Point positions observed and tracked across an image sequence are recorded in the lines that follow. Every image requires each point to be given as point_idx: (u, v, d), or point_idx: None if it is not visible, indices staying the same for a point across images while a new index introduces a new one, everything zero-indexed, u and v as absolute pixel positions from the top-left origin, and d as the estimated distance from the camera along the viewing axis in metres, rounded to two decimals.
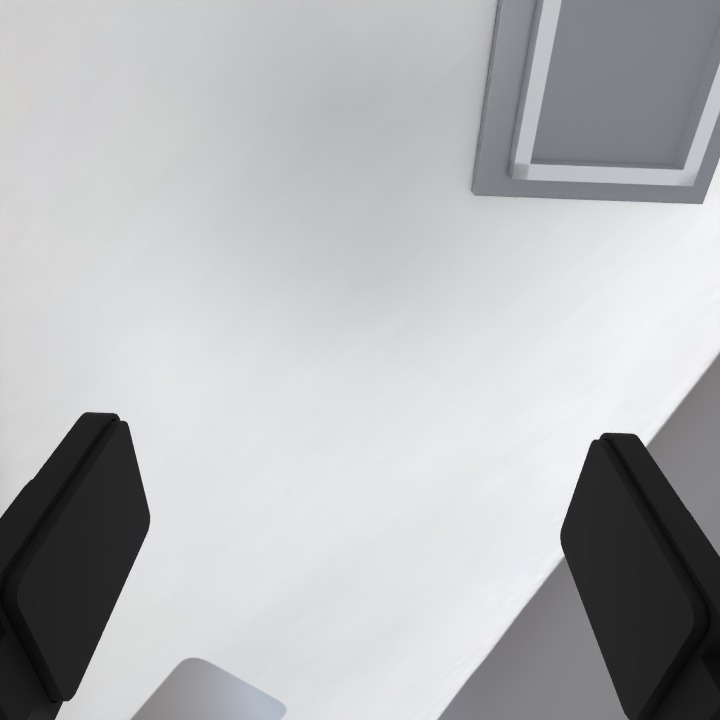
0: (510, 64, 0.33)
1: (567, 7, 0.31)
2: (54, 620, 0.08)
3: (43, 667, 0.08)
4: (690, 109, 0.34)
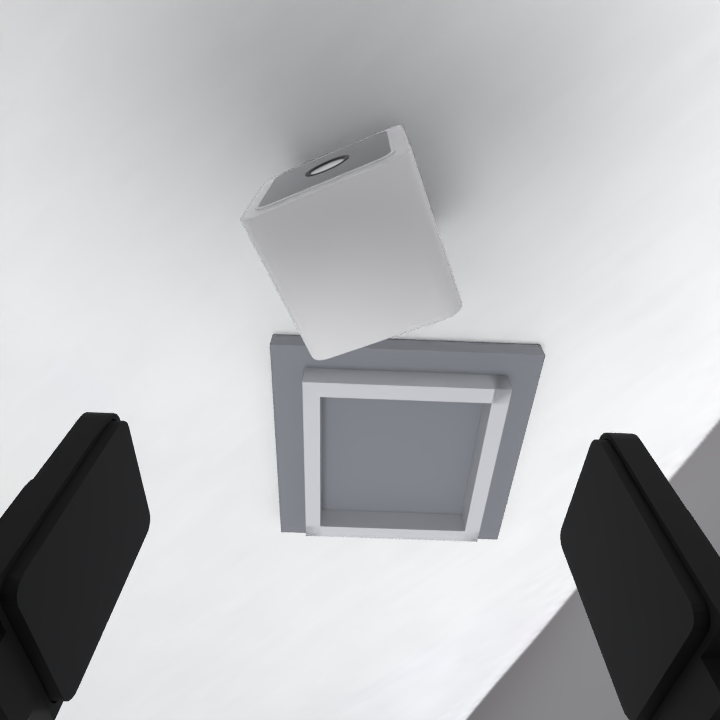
0: (292, 449, 0.35)
1: (335, 415, 0.33)
2: (54, 620, 0.08)
3: (43, 667, 0.08)
4: (468, 480, 0.36)
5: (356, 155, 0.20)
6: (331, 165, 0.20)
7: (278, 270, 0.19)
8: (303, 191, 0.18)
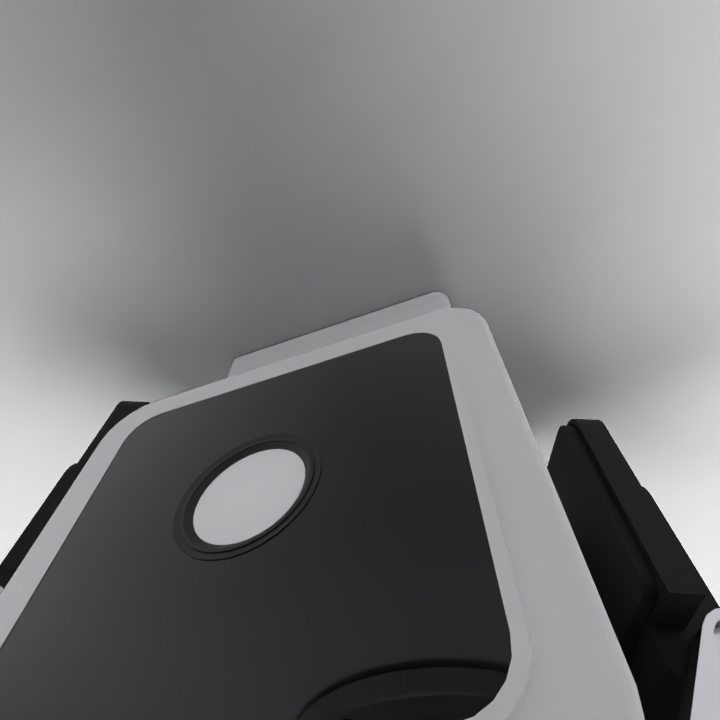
0: None
1: None
2: None
3: None
4: None
5: (346, 488, 0.05)
6: (259, 502, 0.06)
7: None
8: None
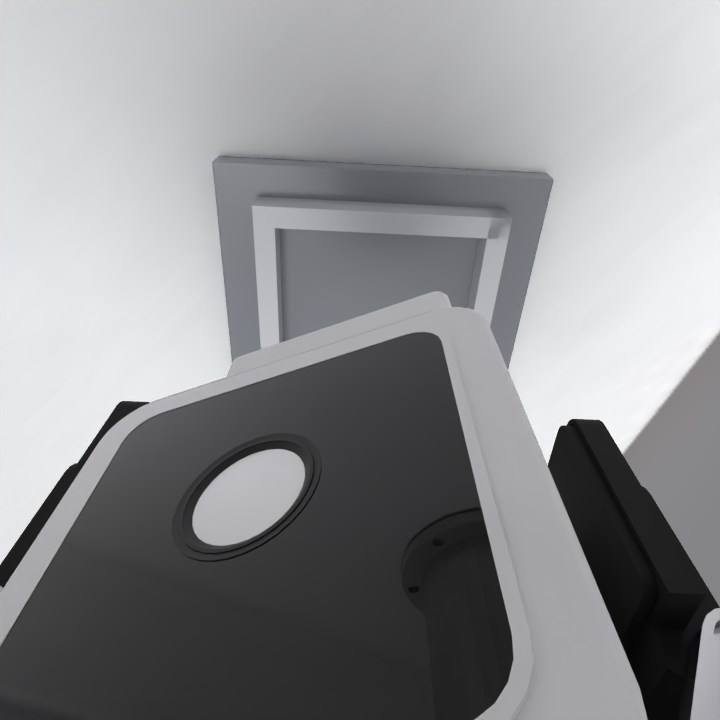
0: (246, 314, 0.29)
1: (297, 265, 0.27)
2: None
3: None
4: None
5: (346, 488, 0.05)
6: (259, 502, 0.06)
7: None
8: None
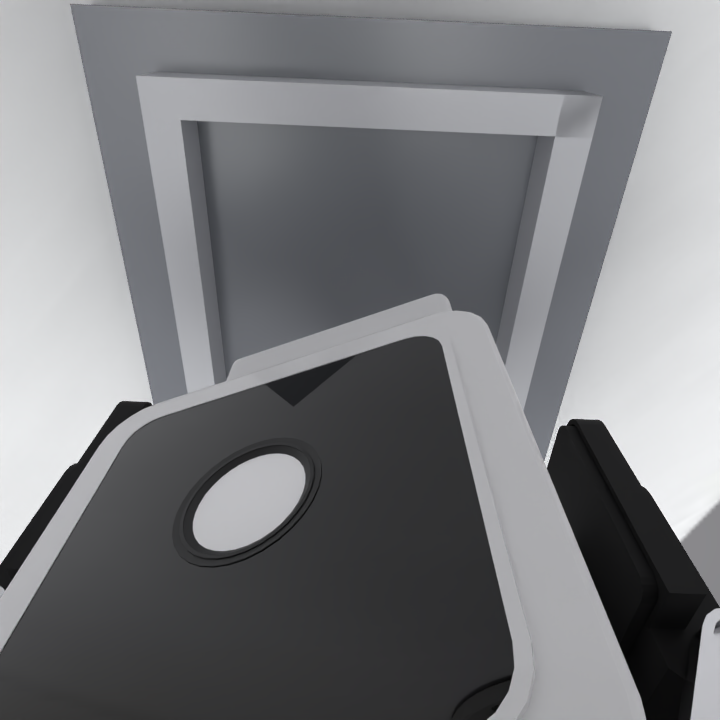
0: (159, 284, 0.18)
1: (233, 199, 0.17)
2: None
3: None
4: None
5: (346, 493, 0.05)
6: (259, 508, 0.06)
7: None
8: None
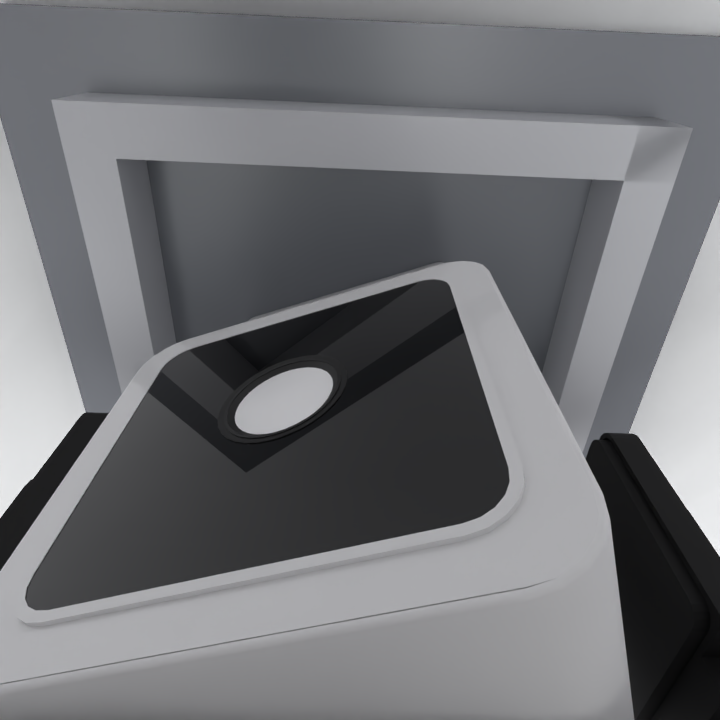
0: (107, 354, 0.14)
1: (196, 253, 0.13)
2: None
3: None
4: None
5: (370, 389, 0.06)
6: (294, 403, 0.07)
7: None
8: (168, 597, 0.05)
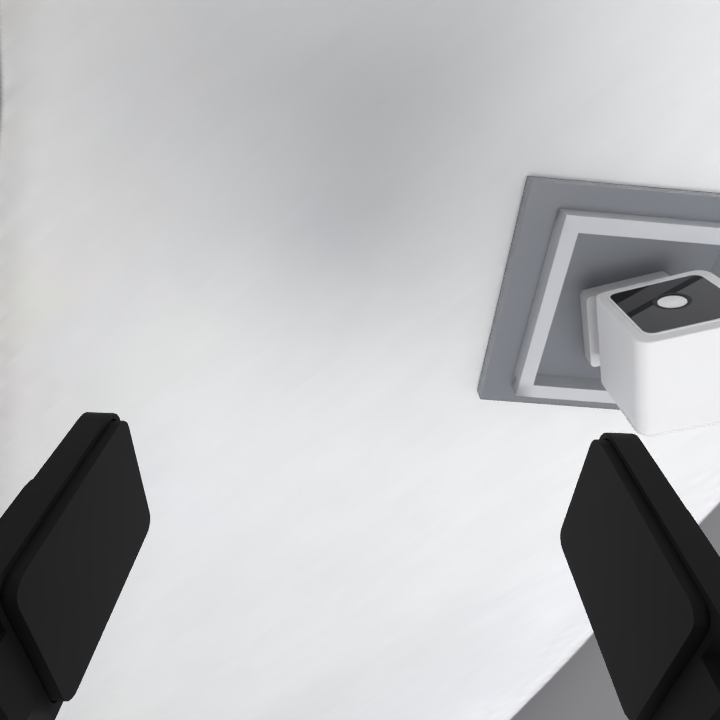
0: (519, 302, 0.36)
1: (572, 263, 0.34)
2: (54, 620, 0.08)
3: (43, 667, 0.08)
4: None
5: (699, 298, 0.28)
6: (678, 302, 0.28)
7: (651, 376, 0.27)
8: (686, 327, 0.26)
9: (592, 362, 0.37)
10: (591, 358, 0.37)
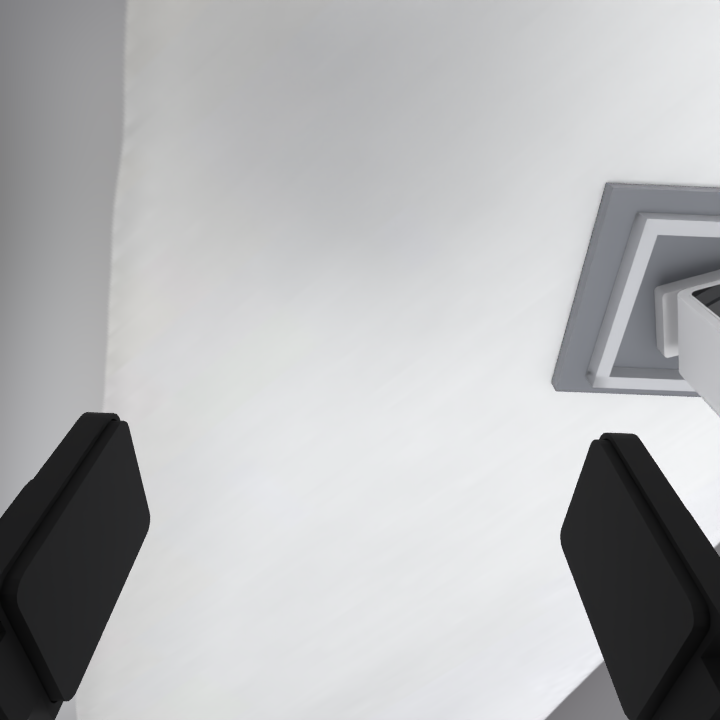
0: (596, 300, 0.38)
1: (648, 262, 0.37)
2: (54, 620, 0.08)
3: (43, 667, 0.08)
4: None
5: None
6: None
7: None
8: None
9: (666, 353, 0.39)
10: (665, 349, 0.39)
